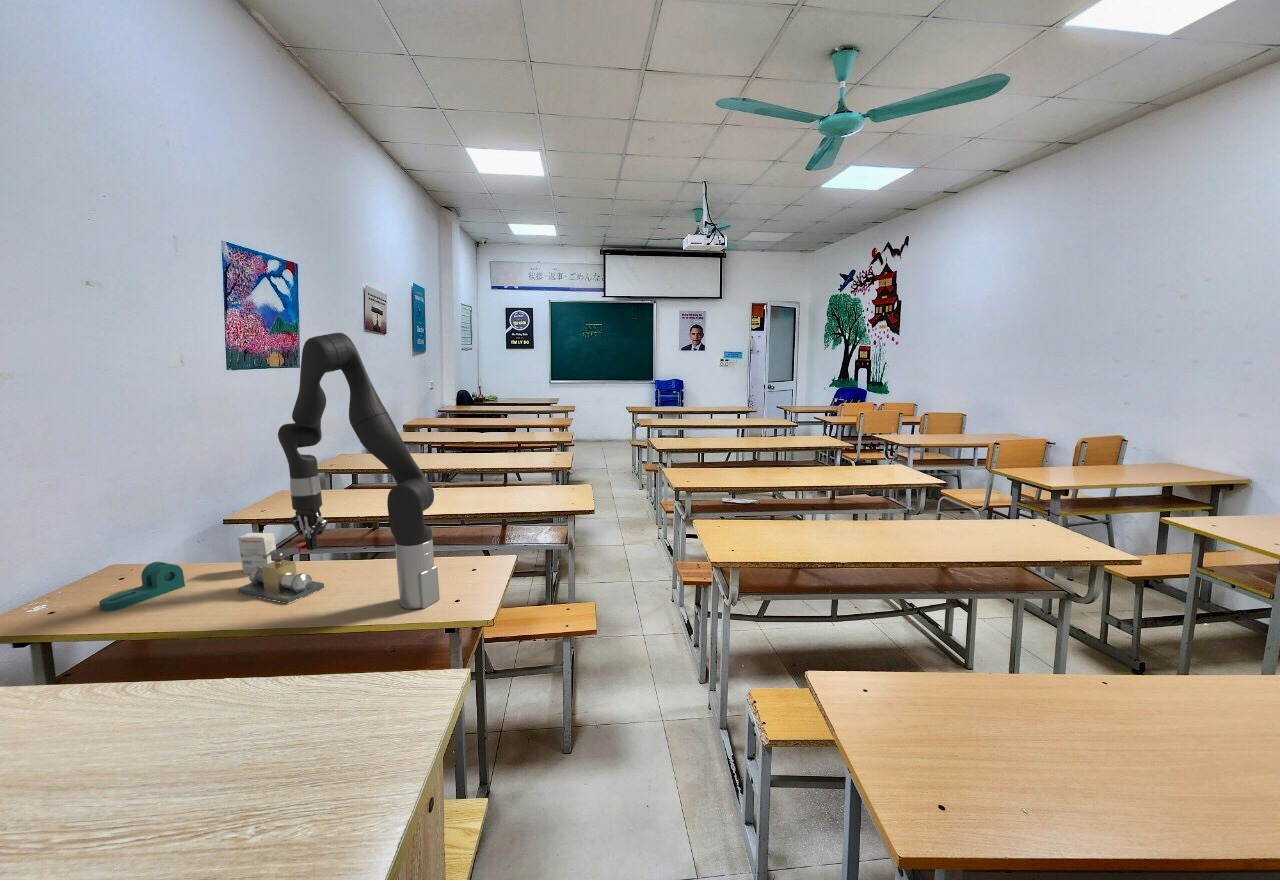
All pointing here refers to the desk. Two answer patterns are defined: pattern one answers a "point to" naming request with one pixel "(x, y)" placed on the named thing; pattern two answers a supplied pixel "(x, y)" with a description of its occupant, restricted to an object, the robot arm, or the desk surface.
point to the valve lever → (288, 552)
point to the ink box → (256, 550)
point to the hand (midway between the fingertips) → (311, 549)
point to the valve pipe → (279, 582)
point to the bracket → (147, 586)
